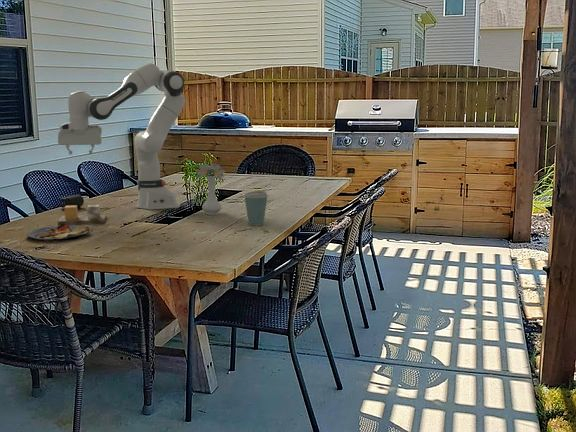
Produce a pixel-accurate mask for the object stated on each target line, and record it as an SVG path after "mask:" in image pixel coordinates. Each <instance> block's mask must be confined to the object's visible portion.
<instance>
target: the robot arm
mask: <svg viewBox="0 0 576 432" xmlns="http://www.w3.org/2000/svg"><path fill="white" fill-rule="evenodd" d="M152 87H155V88H156V89H157V90H158V91H161V92H163V93H164V96H163V99H162V100H161V102H160V103H159V105H158V106H157V108H156V109H155V111H154V113H152V115H151V117H150V120H149V122H148V125H147V127H146V129H145V130H141V131H140V132H138V133H137V134H136V135H135V136H134V140H133V141H134V142H133V143H134V148H135V155H136V160H137V171H138V172H137V173H138V180H137V190H138V196H137V202H136V203H137V204H136V208H138V209H143V210H145V209H146V210H162V209H177V208H180V207H181V203H180V202H178V201H177V199H176V195H175V194H174V192H173V191H171V190H170V189H168V188H167V187H166V181H165V180H163V179H161V165H160V164H161V163H160V160H159V157H158V156H159V155H158V153H159V152H160V151H161V150H162V148H163V145H164V143H165V140H166V139H167V136H168V134H169V131H170V130H171V128H172V127H173V125H174V123H175V122H176V120H177V119H178V117H179V116H180V114H181V112H182V110H183V108H184V106H185V104H186V98H185V95H183V92H184V87H185V79H184V76H183V75H182V74H181V73H180V72H178V71H175V70H160V68H159V67H158V66H157V65H156V64H154V63H147V64H145V65H142V66H139V67H138V68H137V69H134V70H133V71H132V72H130V73H128V75H127V76H125V77H124V79H123V81H122V85H121V86H120V87H119V88H118V89H117V90H115V91H113V92H112V93H111V94H109V95H107V96H105V97H103V98H102V97H100V98H99V97H95V96H92V95H91V94H89V93H86V92H85V91H75V92H71V93H70V94H69V95H68V101H67V103H68V106H67V107H68V113H69V118H68V121H69V122H65V123H63V124H61V125H59V131H58V134H57V135H58V136H57V144H58V145H60V146H65V148H66V150H67V152H68V155H73V150H71V149H70V147H71V146H88V145H89V146H90V147H91V149H89V150H88V154H89V155H93V153H94V152H93V150H94V149H95V145H96V146H97V145H102V143H103V141H102V131H103V130H102V127H101V126H99V125H98V124H97V125H89V118H90V117H91V118H93V119H95V120H98V121H104V120H107V119H109V117H111V115H112V113H113V112H114V110H115V109H116V108H118V107H119V106H120V105H121V104H123V103H124V102H126V101H127V100H129V99H130V98H133V97H135V96H139V95H141V94H142V93H144V92H146V91H147V90H149V89H150V88H152Z"/></svg>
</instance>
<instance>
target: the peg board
mask: <svg viewBox="0 0 576 432" xmlns="http://www.w3.org/2000/svg"><path fill="white" fill-rule="evenodd" d="M100 209H101V208H100V204H88V205H87V206H86V213H87V214H78V218H77V219H65V215H62V216H61V217H60V218H59V219H58V220H57V226H60V225H61V224H68V225H87V224H88V225H89V224H91V225H92V224H93V225H94V224H95V225H96V224H105V222H106V219H107V214H105V213H104V214H101V210H100Z"/></svg>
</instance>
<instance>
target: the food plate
mask: <svg viewBox="0 0 576 432" xmlns="http://www.w3.org/2000/svg"><path fill="white" fill-rule="evenodd" d="M90 231H91V230H90V227H89V226H84V225H83V226H82V225H75V224H61V225H56V226H47V227H46V226H45V227H41V228H37V229H33V230H30V231H28V232H27V233H25V235H26V236H27V237H29V238H33V239H37V240H41V241H45V242H46V241H49V242H51V241H54V240H56V241H57V240H58V241H59V240H65V239H67V240H68V239H69V238H76V237H78V236H82V235H87V234H88V233H89V232H90Z"/></svg>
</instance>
